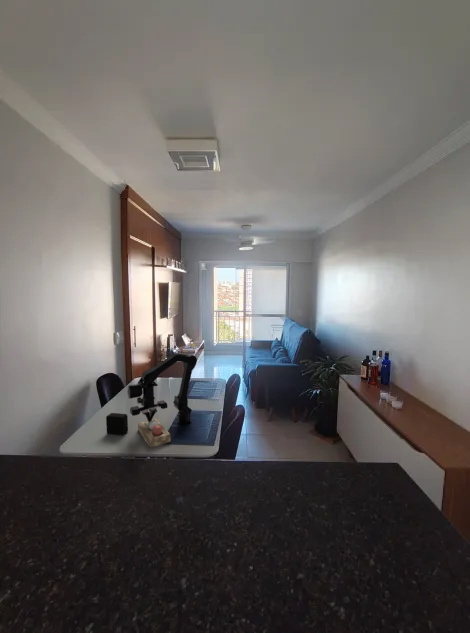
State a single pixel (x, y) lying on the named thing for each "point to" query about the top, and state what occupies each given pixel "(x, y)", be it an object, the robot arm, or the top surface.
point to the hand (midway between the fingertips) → (149, 423)
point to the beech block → (149, 436)
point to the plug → (152, 425)
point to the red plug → (157, 430)
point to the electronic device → (117, 424)
